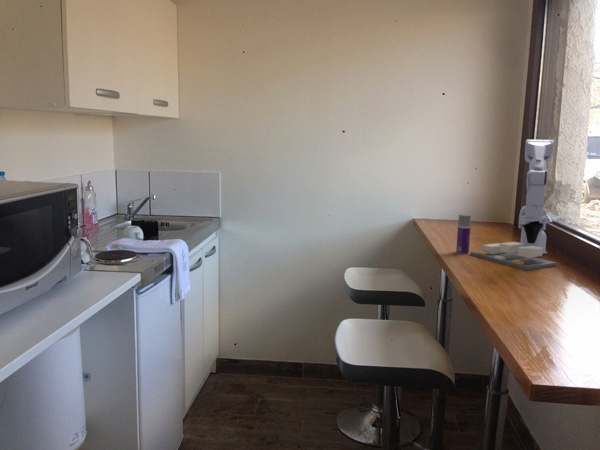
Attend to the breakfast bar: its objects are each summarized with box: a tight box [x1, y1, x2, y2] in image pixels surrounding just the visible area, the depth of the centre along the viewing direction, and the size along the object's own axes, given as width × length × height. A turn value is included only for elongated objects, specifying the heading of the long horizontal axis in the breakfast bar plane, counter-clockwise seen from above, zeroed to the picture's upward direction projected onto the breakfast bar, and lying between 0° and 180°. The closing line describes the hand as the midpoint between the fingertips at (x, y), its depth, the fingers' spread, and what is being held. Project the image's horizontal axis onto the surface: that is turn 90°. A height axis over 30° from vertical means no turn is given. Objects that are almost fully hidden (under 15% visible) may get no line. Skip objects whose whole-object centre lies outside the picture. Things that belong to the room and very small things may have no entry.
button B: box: [499, 241, 524, 253], centre depth 195 cm, size 8×4×3 cm, turn 119°
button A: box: [481, 243, 505, 254], centre depth 202 cm, size 8×4×3 cm, turn 119°
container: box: [455, 213, 472, 255], centre depth 206 cm, size 5×5×15 cm
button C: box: [517, 246, 544, 258], centre depth 188 cm, size 8×4×3 cm, turn 119°
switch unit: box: [469, 250, 558, 271], centre depth 196 cm, size 15×26×2 cm, turn 29°
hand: (531, 243), depth 188 cm, fingers closed
